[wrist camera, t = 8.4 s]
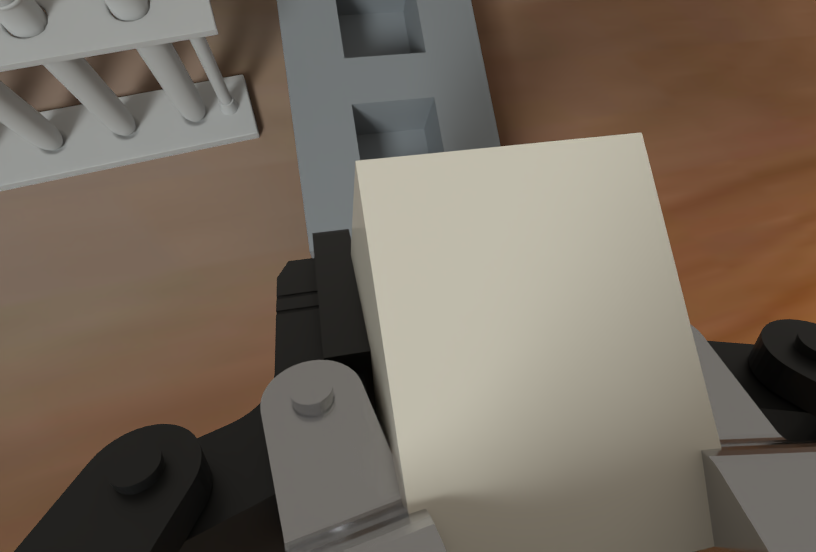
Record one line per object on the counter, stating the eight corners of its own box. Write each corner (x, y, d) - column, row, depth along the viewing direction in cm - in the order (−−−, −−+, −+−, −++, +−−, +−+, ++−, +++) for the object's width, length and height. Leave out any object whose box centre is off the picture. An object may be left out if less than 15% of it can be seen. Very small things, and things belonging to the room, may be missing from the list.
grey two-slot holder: (316, 270, 32) (309, 251, 27) (280, 2, 35) (268, -63, 30) (490, 247, 34) (516, 225, 29) (441, -7, 37) (456, -70, 32)
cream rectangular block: (363, 426, 17) (423, 617, 4) (347, 311, 17) (355, 160, 5) (448, 411, 17) (744, 539, 4) (429, 299, 18) (641, 132, 5)
